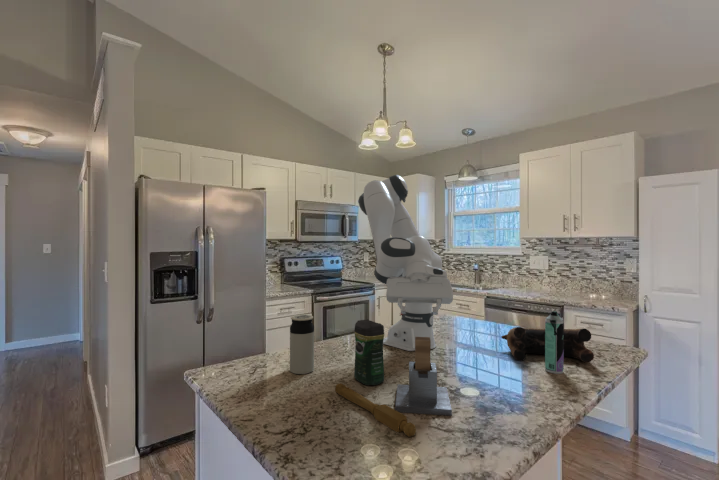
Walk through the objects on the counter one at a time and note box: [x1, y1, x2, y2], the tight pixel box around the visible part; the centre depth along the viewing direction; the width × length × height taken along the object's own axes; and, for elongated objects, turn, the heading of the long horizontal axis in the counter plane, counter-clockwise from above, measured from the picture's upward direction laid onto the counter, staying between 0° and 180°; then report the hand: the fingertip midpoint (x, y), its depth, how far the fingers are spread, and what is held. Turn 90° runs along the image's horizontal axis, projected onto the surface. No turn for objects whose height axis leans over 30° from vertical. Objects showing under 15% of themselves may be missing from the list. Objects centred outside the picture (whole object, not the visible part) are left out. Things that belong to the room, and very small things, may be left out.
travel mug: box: [289, 314, 315, 375], centre depth 122 cm, size 8×8×18 cm
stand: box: [394, 361, 453, 417], centre depth 99 cm, size 14×14×10 cm
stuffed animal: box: [501, 326, 595, 363], centre depth 142 cm, size 13×31×25 cm
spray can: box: [544, 310, 565, 375], centre depth 122 cm, size 6×6×20 cm
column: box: [414, 337, 432, 370], centre depth 99 cm, size 4×4×15 cm
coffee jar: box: [353, 319, 385, 386], centre depth 114 cm, size 10×8×19 cm
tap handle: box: [334, 382, 417, 437], centre depth 93 cm, size 3×3×30 cm
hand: (419, 313), depth 108 cm, fingers open, 8 cm apart
